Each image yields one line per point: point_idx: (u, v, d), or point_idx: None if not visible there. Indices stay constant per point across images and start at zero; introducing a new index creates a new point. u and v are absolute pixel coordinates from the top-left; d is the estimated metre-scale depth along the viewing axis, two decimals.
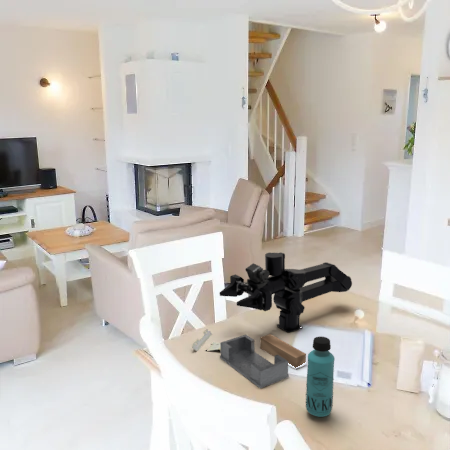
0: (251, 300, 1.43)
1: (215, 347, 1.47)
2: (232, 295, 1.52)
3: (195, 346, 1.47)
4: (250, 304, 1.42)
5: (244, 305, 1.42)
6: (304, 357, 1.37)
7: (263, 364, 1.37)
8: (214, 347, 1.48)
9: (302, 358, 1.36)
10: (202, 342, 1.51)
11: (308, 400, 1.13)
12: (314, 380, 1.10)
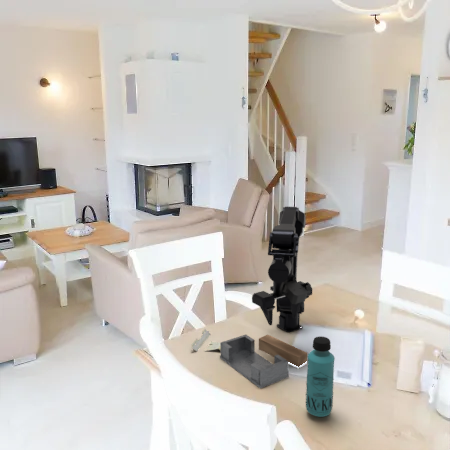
0: None
1: (214, 347, 1.48)
2: None
3: (194, 346, 1.47)
4: None
5: None
6: (306, 356, 1.37)
7: (263, 364, 1.37)
8: (213, 347, 1.48)
9: (304, 357, 1.37)
10: (201, 342, 1.51)
11: (308, 400, 1.13)
12: (314, 380, 1.10)
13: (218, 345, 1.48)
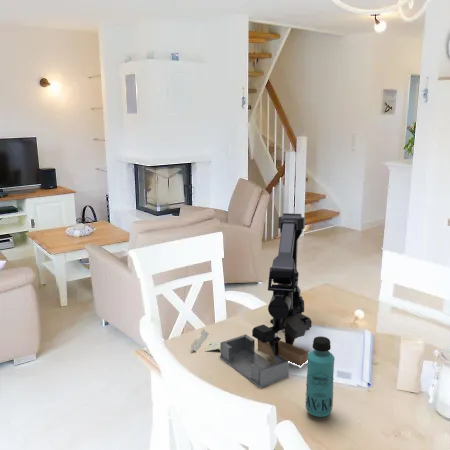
0: None
1: (214, 347, 1.48)
2: None
3: (194, 347, 1.47)
4: None
5: None
6: (307, 355, 1.38)
7: (263, 364, 1.37)
8: (213, 347, 1.48)
9: (305, 356, 1.37)
10: (200, 342, 1.51)
11: (308, 400, 1.13)
12: (314, 380, 1.10)
13: (217, 345, 1.48)
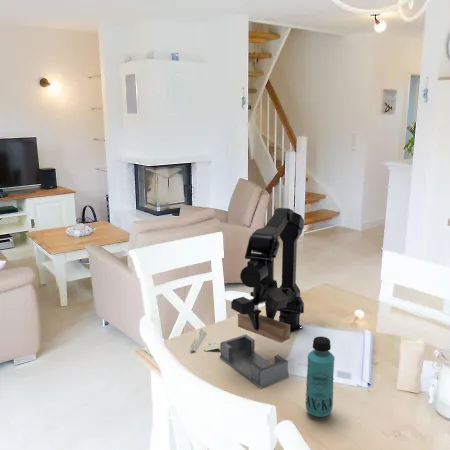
0: None
1: (213, 346, 1.48)
2: None
3: (193, 347, 1.47)
4: None
5: None
6: (288, 328, 1.31)
7: (263, 364, 1.37)
8: (212, 347, 1.48)
9: (287, 329, 1.31)
10: (199, 342, 1.51)
11: (308, 400, 1.13)
12: (314, 380, 1.10)
13: (217, 345, 1.48)
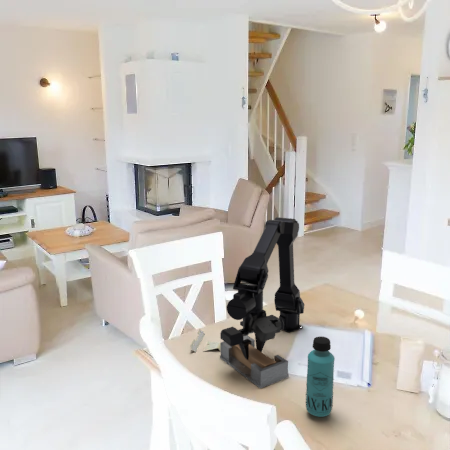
0: None
1: (213, 346, 1.48)
2: None
3: (193, 347, 1.46)
4: None
5: None
6: None
7: None
8: (212, 346, 1.48)
9: None
10: (198, 342, 1.51)
11: (308, 400, 1.13)
12: (314, 380, 1.10)
13: (216, 344, 1.49)
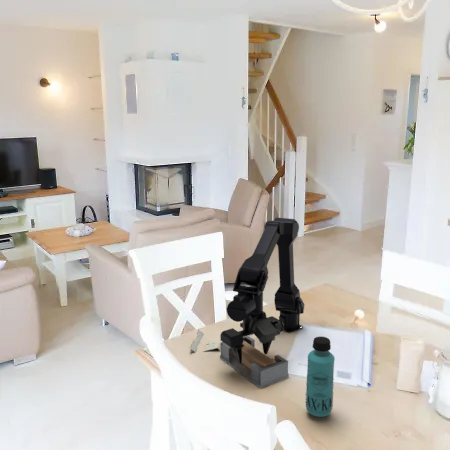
0: None
1: (212, 346, 1.48)
2: None
3: (192, 347, 1.46)
4: None
5: None
6: None
7: None
8: (211, 346, 1.48)
9: None
10: (197, 343, 1.51)
11: (308, 400, 1.13)
12: (314, 380, 1.10)
13: (216, 344, 1.49)
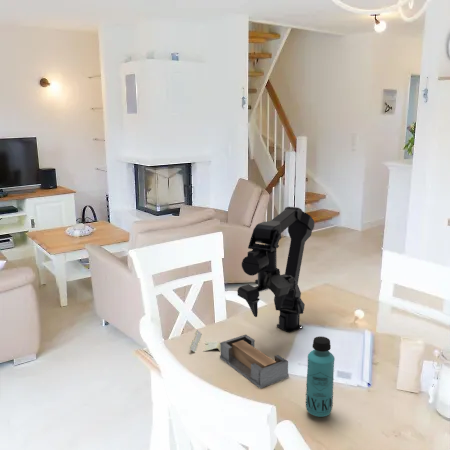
0: None
1: (212, 346, 1.48)
2: None
3: (192, 348, 1.46)
4: None
5: None
6: None
7: None
8: (211, 346, 1.48)
9: None
10: (196, 343, 1.51)
11: (308, 400, 1.13)
12: (314, 380, 1.10)
13: (215, 344, 1.49)
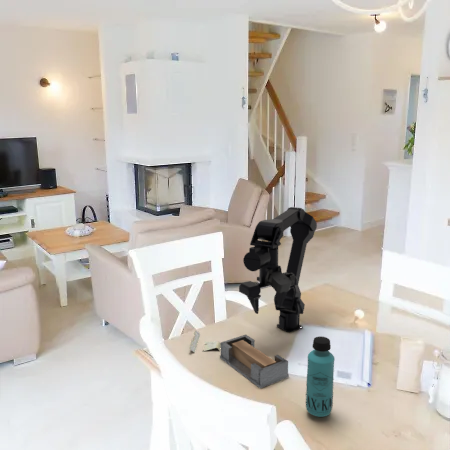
0: None
1: (211, 346, 1.48)
2: None
3: (191, 348, 1.46)
4: None
5: None
6: None
7: None
8: (210, 346, 1.48)
9: None
10: (195, 343, 1.51)
11: (308, 400, 1.13)
12: (314, 380, 1.10)
13: (214, 344, 1.49)
